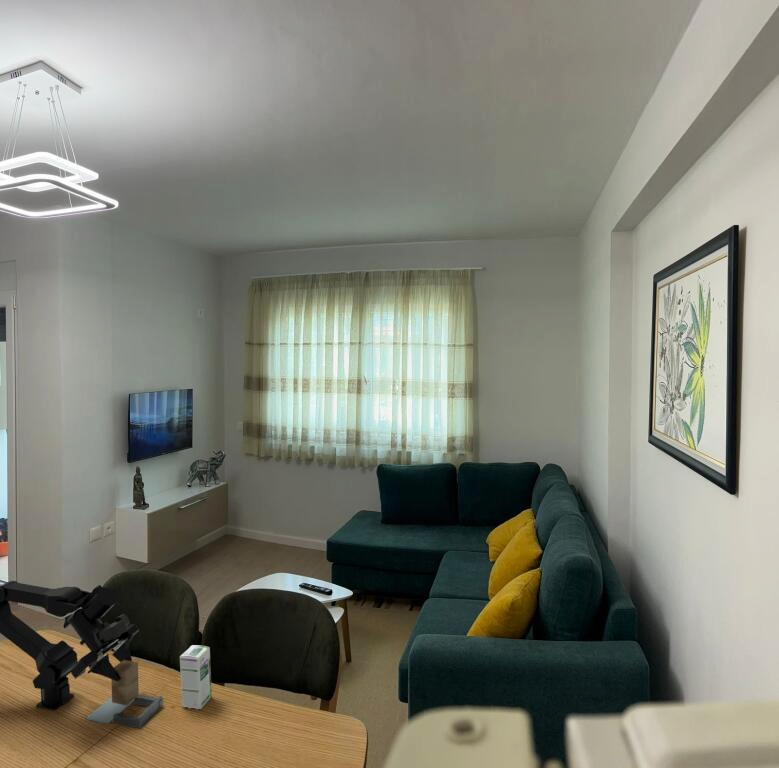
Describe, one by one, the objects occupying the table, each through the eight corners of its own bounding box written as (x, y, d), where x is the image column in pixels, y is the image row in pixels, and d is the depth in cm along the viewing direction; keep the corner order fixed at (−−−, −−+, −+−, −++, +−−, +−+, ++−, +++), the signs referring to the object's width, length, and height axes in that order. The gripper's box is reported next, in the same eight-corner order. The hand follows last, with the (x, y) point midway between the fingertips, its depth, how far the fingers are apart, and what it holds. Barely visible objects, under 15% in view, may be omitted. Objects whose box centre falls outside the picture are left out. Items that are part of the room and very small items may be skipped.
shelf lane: (113, 723, 138) (113, 713, 138) (137, 701, 147) (137, 692, 147) (139, 728, 136) (139, 718, 136) (162, 705, 145) (162, 696, 145)
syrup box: (200, 710, 143) (199, 657, 142) (180, 707, 144) (179, 655, 143) (212, 696, 148) (210, 646, 148) (192, 694, 150) (191, 643, 149)
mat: (86, 719, 140) (86, 718, 140) (114, 695, 149) (114, 694, 149) (108, 723, 138) (108, 722, 138) (136, 699, 148) (135, 698, 148)
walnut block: (112, 702, 141) (111, 669, 140) (124, 692, 145) (123, 659, 144) (126, 705, 139) (125, 671, 139) (138, 694, 144) (137, 662, 143)
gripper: (79, 628, 133) (117, 677, 131) (132, 595, 151) (167, 638, 149) (54, 654, 135) (91, 703, 133) (109, 618, 154) (143, 661, 151)
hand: (126, 674), depth 142 cm, fingers closed on walnut block, 4 cm apart
